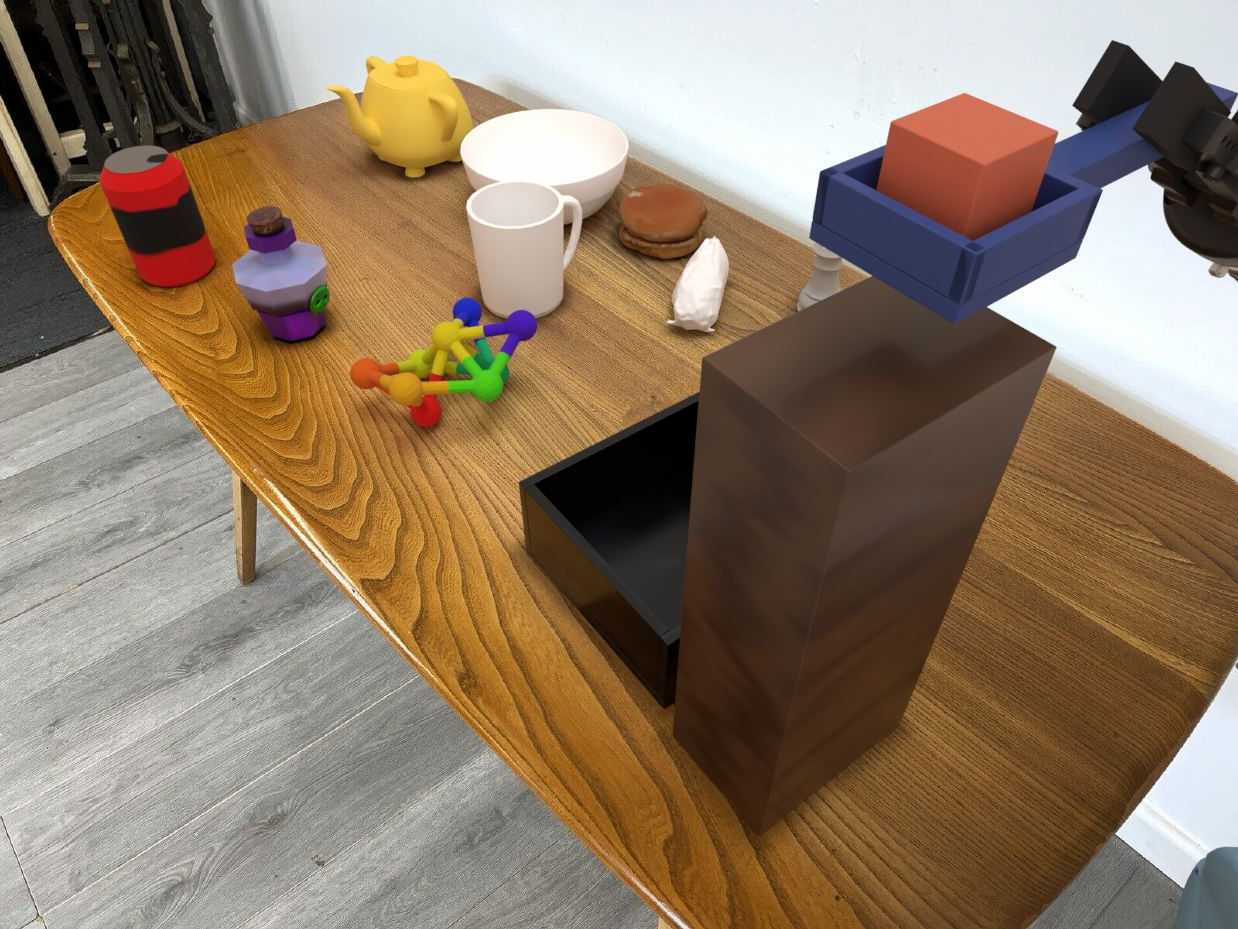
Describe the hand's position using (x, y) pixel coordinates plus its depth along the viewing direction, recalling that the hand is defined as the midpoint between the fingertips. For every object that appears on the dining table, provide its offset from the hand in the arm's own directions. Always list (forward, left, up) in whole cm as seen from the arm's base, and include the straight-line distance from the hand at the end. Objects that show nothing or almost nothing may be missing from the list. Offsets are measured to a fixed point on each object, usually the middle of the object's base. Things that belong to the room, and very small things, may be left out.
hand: (1130, 87), depth 37 cm
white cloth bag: (+38, -13, -38) cm, 55 cm away
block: (0, +10, -3) cm, 11 cm away
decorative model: (+41, +13, -38) cm, 57 cm away
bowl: (+64, -12, -38) cm, 75 cm away
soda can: (+76, +26, -38) cm, 89 cm away
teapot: (+83, -4, -38) cm, 91 cm away
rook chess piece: (+31, -22, -38) cm, 54 cm away
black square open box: (+14, +9, -38) cm, 41 cm away
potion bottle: (+59, +20, -38) cm, 73 cm away
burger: (+51, -18, -38) cm, 66 cm away
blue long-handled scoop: (0, +3, -4) cm, 4 cm away
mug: (+50, -1, -38) cm, 63 cm away
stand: (0, +12, -38) cm, 40 cm away
